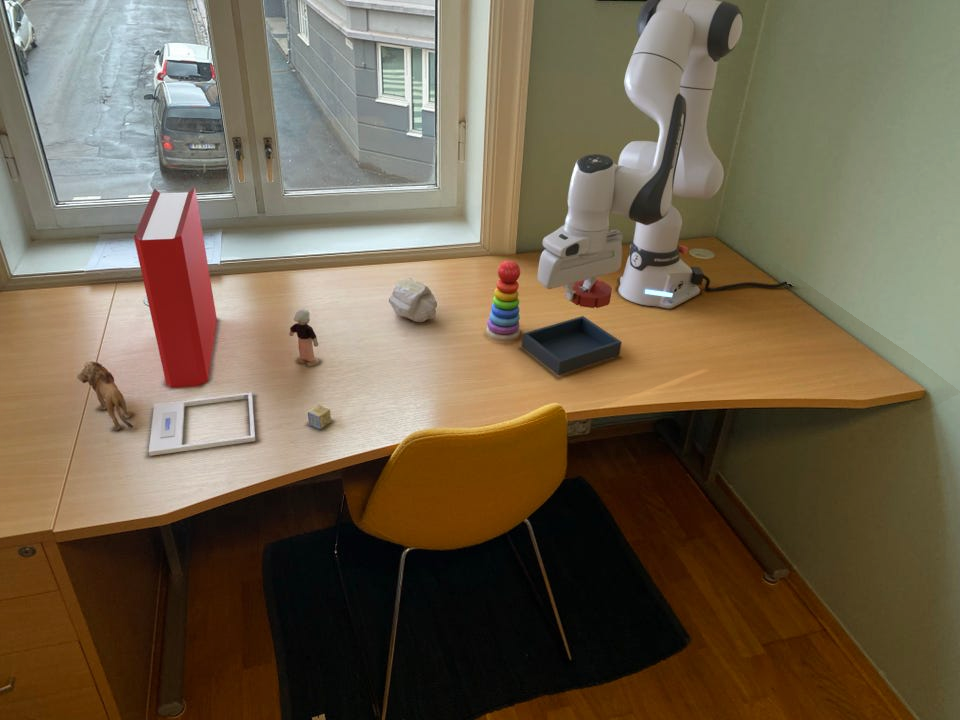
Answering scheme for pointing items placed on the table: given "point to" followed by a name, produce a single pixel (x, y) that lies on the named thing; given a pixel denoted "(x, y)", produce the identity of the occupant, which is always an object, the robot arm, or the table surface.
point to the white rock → (413, 300)
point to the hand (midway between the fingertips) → (577, 296)
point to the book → (178, 286)
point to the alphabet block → (319, 417)
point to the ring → (592, 294)
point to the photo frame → (171, 422)
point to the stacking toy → (505, 304)
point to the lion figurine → (105, 391)
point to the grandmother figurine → (304, 337)
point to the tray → (571, 345)
